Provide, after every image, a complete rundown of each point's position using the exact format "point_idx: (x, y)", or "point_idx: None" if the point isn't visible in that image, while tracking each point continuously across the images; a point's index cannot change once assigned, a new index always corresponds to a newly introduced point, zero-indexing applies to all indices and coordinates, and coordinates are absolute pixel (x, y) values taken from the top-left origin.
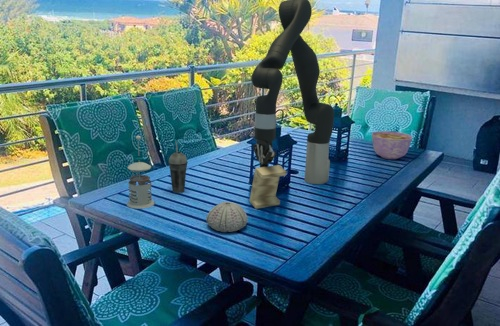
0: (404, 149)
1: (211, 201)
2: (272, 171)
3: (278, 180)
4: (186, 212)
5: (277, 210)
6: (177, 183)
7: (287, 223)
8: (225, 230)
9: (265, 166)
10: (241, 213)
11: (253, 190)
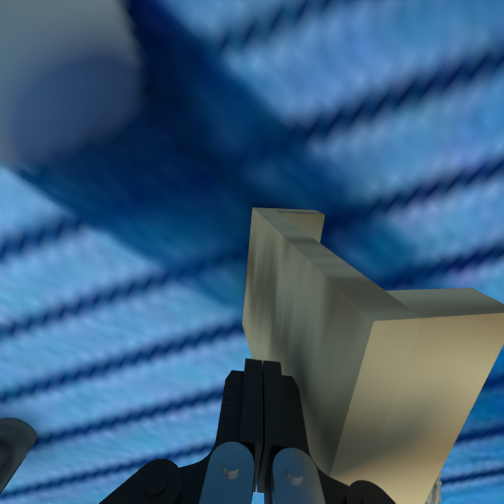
0: None
1: (151, 399)
2: (427, 438)
3: (323, 248)
4: None
5: (363, 261)
6: (7, 483)
7: None
8: None
9: (296, 443)
10: (437, 501)
11: None
